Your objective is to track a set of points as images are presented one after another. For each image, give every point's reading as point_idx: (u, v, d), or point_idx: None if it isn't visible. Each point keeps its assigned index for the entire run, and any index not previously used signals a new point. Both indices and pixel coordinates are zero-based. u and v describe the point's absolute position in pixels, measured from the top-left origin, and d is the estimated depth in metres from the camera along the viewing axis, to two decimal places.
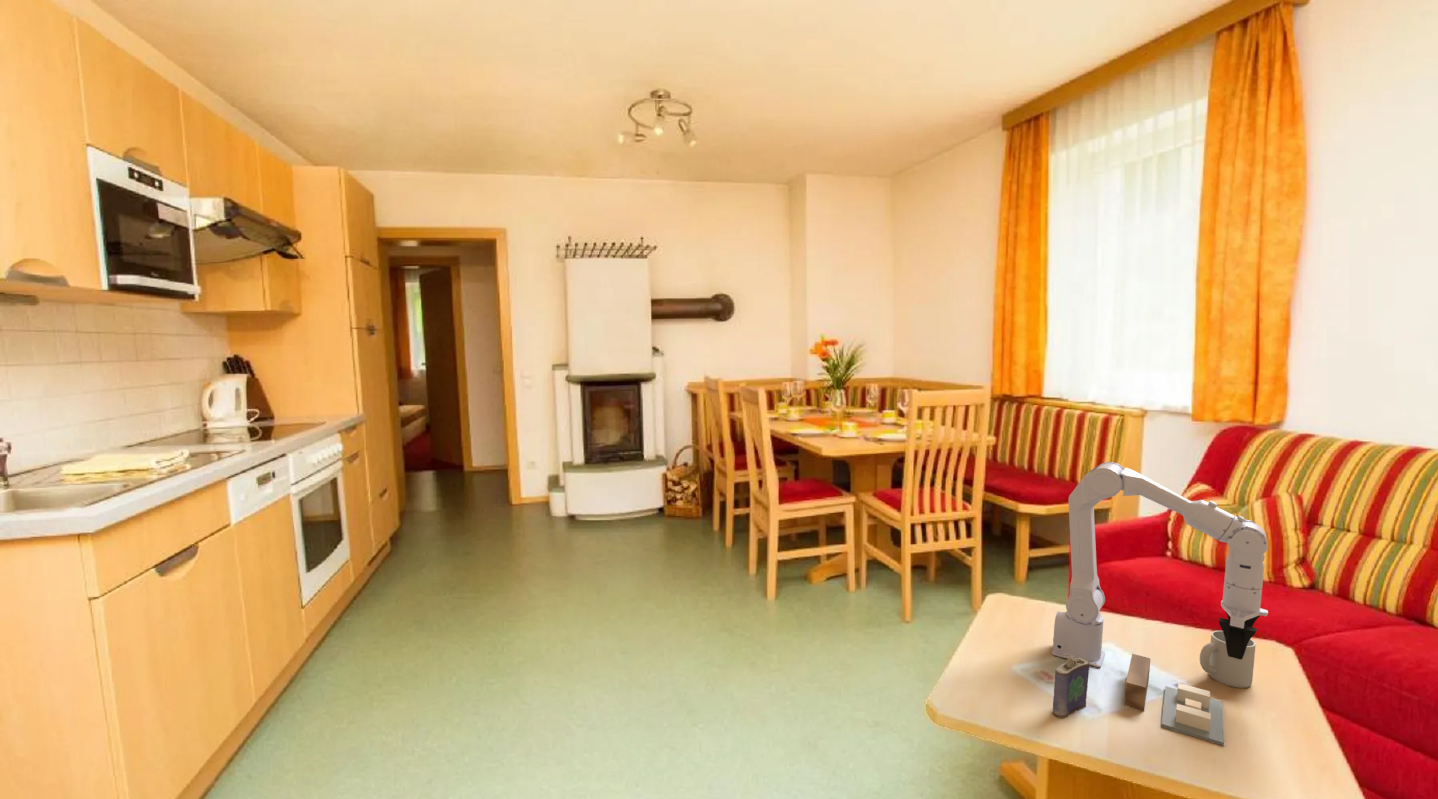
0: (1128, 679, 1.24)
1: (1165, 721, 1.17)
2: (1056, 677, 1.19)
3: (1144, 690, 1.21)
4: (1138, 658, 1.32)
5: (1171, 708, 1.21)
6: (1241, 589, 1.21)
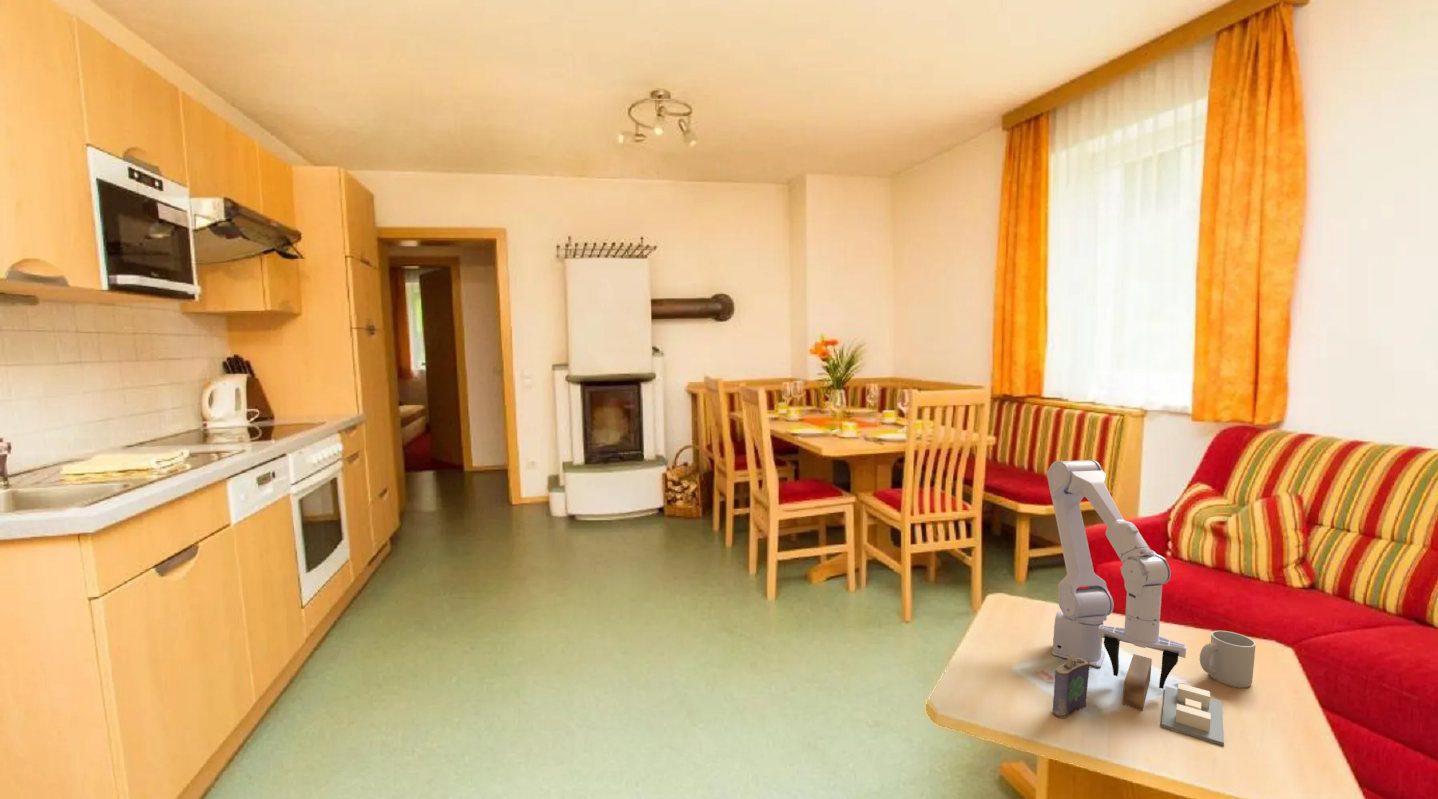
0: (1127, 678, 1.24)
1: (1165, 721, 1.17)
2: (1056, 677, 1.19)
3: (1142, 690, 1.21)
4: (1139, 659, 1.31)
5: (1171, 708, 1.21)
6: None
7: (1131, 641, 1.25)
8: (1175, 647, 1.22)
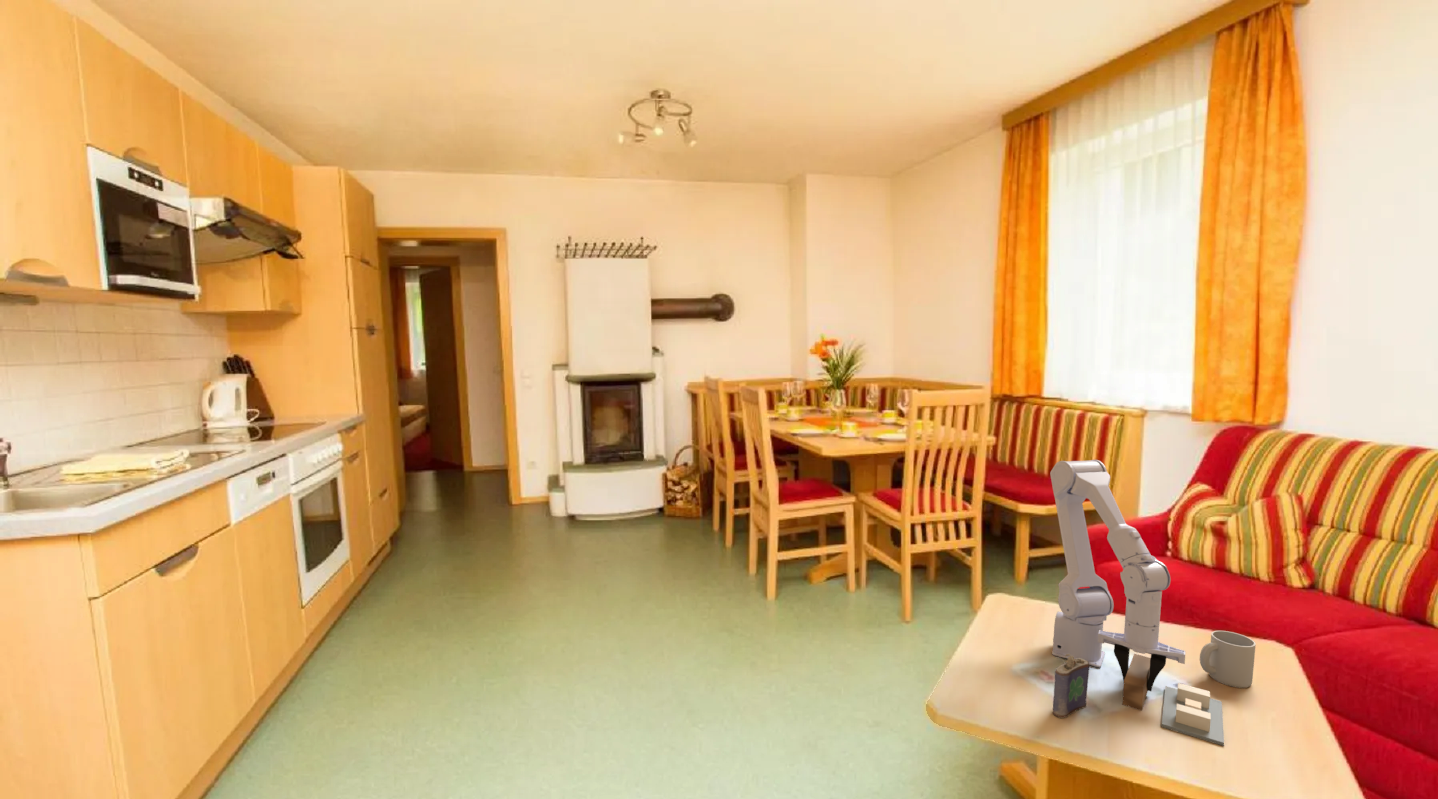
0: (1126, 678, 1.24)
1: (1165, 721, 1.17)
2: (1056, 677, 1.19)
3: (1142, 689, 1.21)
4: (1140, 658, 1.31)
5: (1171, 708, 1.21)
6: (1125, 618, 1.28)
7: (1130, 647, 1.25)
8: (1174, 653, 1.22)
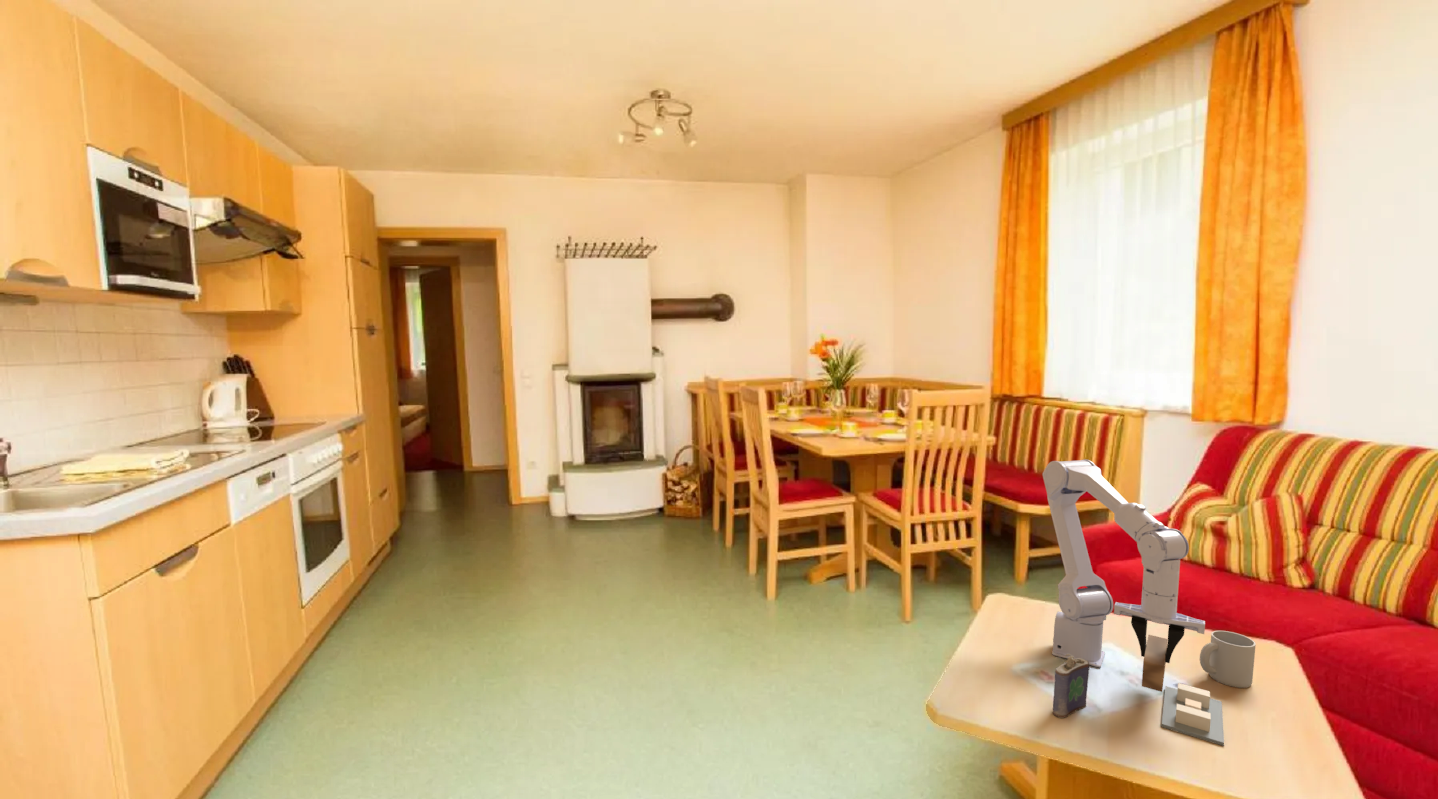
0: (1145, 658, 1.21)
1: (1165, 721, 1.17)
2: (1056, 677, 1.19)
3: (1162, 669, 1.18)
4: (1155, 639, 1.29)
5: (1171, 708, 1.21)
6: (1142, 588, 1.25)
7: (1148, 617, 1.22)
8: (1194, 623, 1.19)
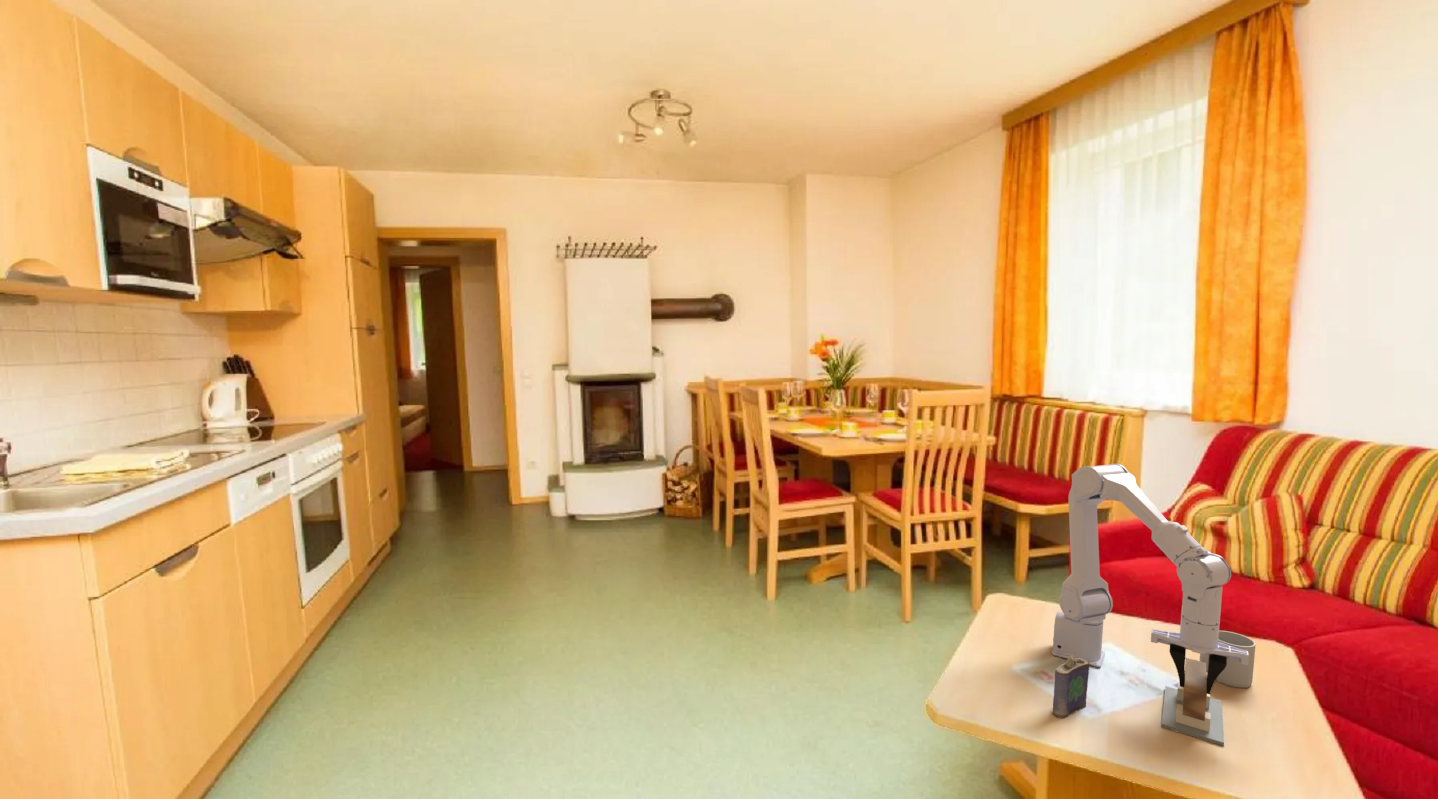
0: (1186, 685, 1.15)
1: (1165, 721, 1.17)
2: (1056, 677, 1.19)
3: (1205, 697, 1.13)
4: (1193, 663, 1.23)
5: (1171, 708, 1.21)
6: (1181, 616, 1.20)
7: (1188, 647, 1.17)
8: (1237, 653, 1.14)
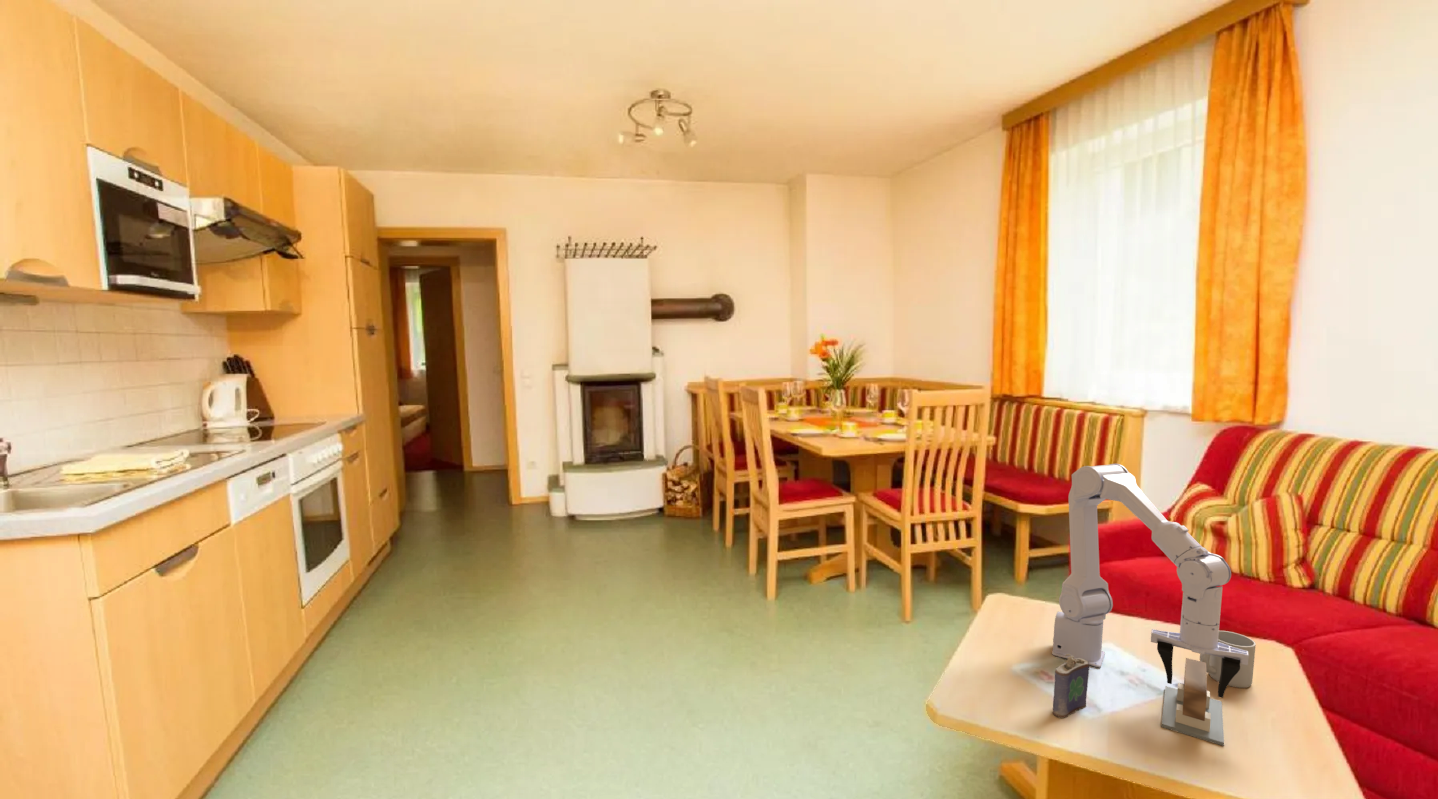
0: (1186, 685, 1.15)
1: (1165, 721, 1.17)
2: (1056, 677, 1.19)
3: (1205, 697, 1.13)
4: (1193, 663, 1.23)
5: (1171, 708, 1.21)
6: (1181, 616, 1.20)
7: (1188, 647, 1.17)
8: (1237, 654, 1.14)
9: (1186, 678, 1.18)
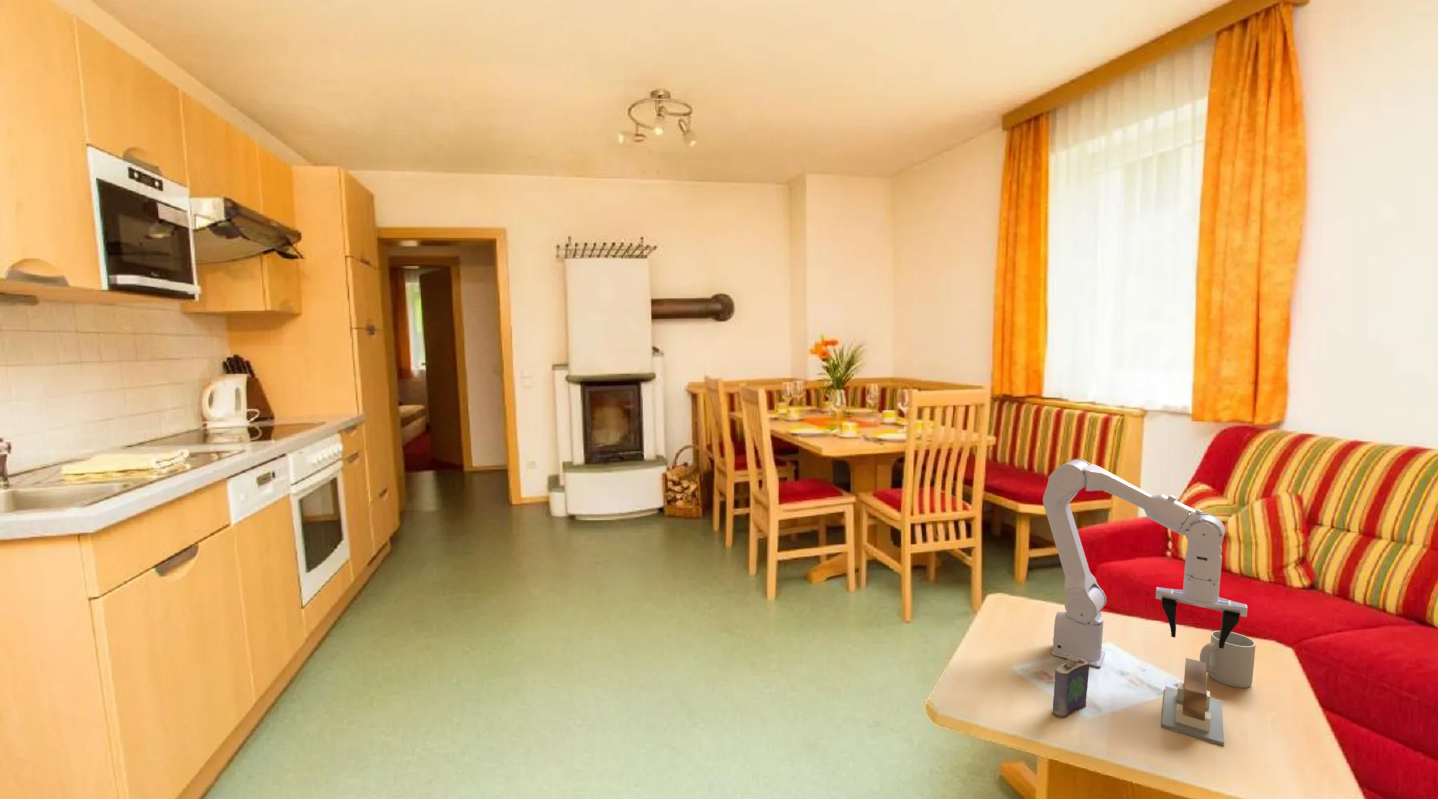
0: (1186, 685, 1.15)
1: (1165, 721, 1.17)
2: (1056, 677, 1.19)
3: (1205, 697, 1.13)
4: (1193, 663, 1.23)
5: (1171, 708, 1.21)
6: (1184, 573, 1.28)
7: (1191, 601, 1.25)
8: (1236, 607, 1.22)
9: (1186, 678, 1.18)
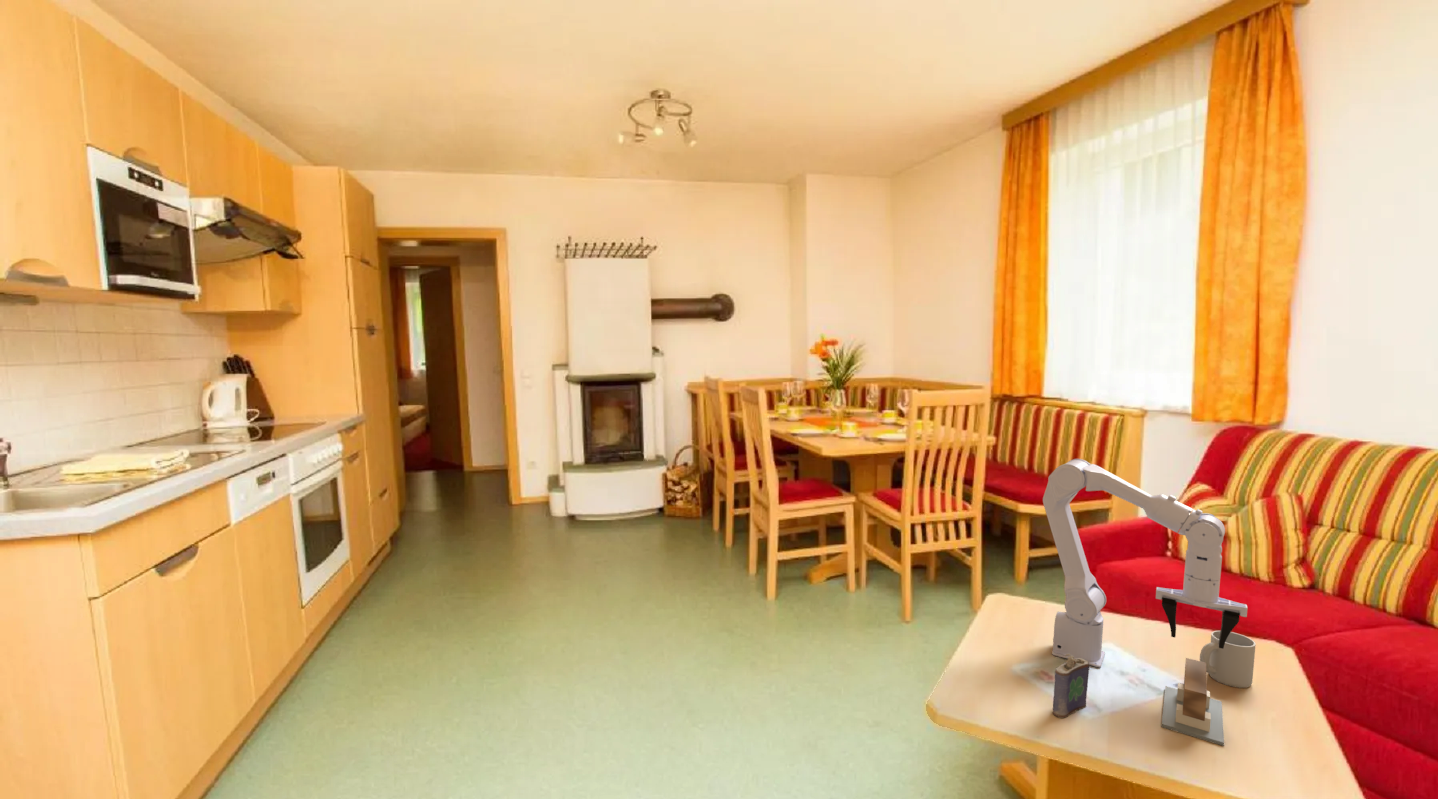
0: (1186, 685, 1.15)
1: (1165, 721, 1.17)
2: (1056, 677, 1.19)
3: (1205, 697, 1.13)
4: (1193, 663, 1.23)
5: (1171, 708, 1.21)
6: (1184, 573, 1.28)
7: (1191, 601, 1.25)
8: (1236, 607, 1.22)
9: (1186, 678, 1.18)
